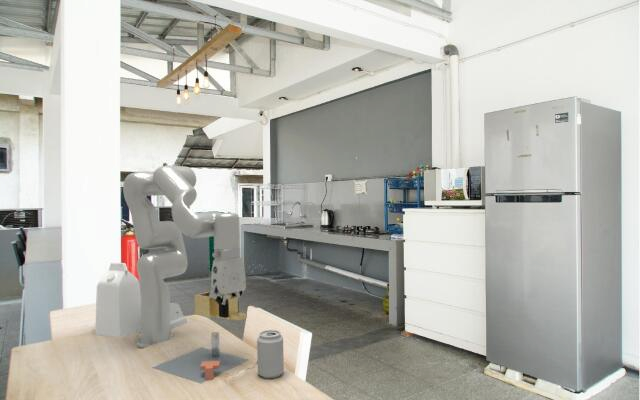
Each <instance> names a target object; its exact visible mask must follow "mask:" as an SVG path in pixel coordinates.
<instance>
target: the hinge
mask: <svg viewBox="0 0 640 400" xmlns="http://www.w3.org/2000/svg"><path fill="white" fill-rule="evenodd" d="M182 311H183V310H182V308H181V306H180V304H179V303H175V302H170V325H171V330H172V329H174V328H177V327H180V326H182V325H184V324H187V323H188V319H187V317H185V316H184V313H183V312H182Z"/></svg>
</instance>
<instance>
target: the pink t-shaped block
mask: <svg viewBox="0 0 640 400" xmlns="http://www.w3.org/2000/svg"><path fill="white" fill-rule="evenodd" d="M219 367H220V361H205V362H202V363H201V366H200V370H205V380H207V381H209V380H211V381H212V380H213V379H214V378H215V377H214V375H213V369H219Z"/></svg>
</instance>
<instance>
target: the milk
mask: <svg viewBox="0 0 640 400" xmlns="http://www.w3.org/2000/svg"><path fill="white" fill-rule="evenodd" d="M95 303H96V306H95V326H94V327H95V330H94V332H95V333H94V334H95V335H96V334H99V335H98V336H103V335H105V337H111V338H116V339H117V338H119V339H121V338H124V337H126V336H128V335H131V334H133V333H135V332H136V333H137V331H138V330H140V329H141V291H140V281H139V278H137V277H136V276H135V275H134V274H133V273H132V272H131V271H129V269H128V266H127V264H126V263H125V262H110V264H109V268H108V270H107V271H106V273H105V274H104V275H103V276H102V278H101V279H100V280H99V281H98V283H97V285H96V302H95Z"/></svg>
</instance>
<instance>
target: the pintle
mask: <svg viewBox="0 0 640 400" xmlns="http://www.w3.org/2000/svg"><path fill="white" fill-rule="evenodd" d="M210 338H211V350H212V357H219V356H220V352H221V351H220V350H221V349H220V348H221V347H220V332H218V331H214V332H212V333H211V337H210Z"/></svg>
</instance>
